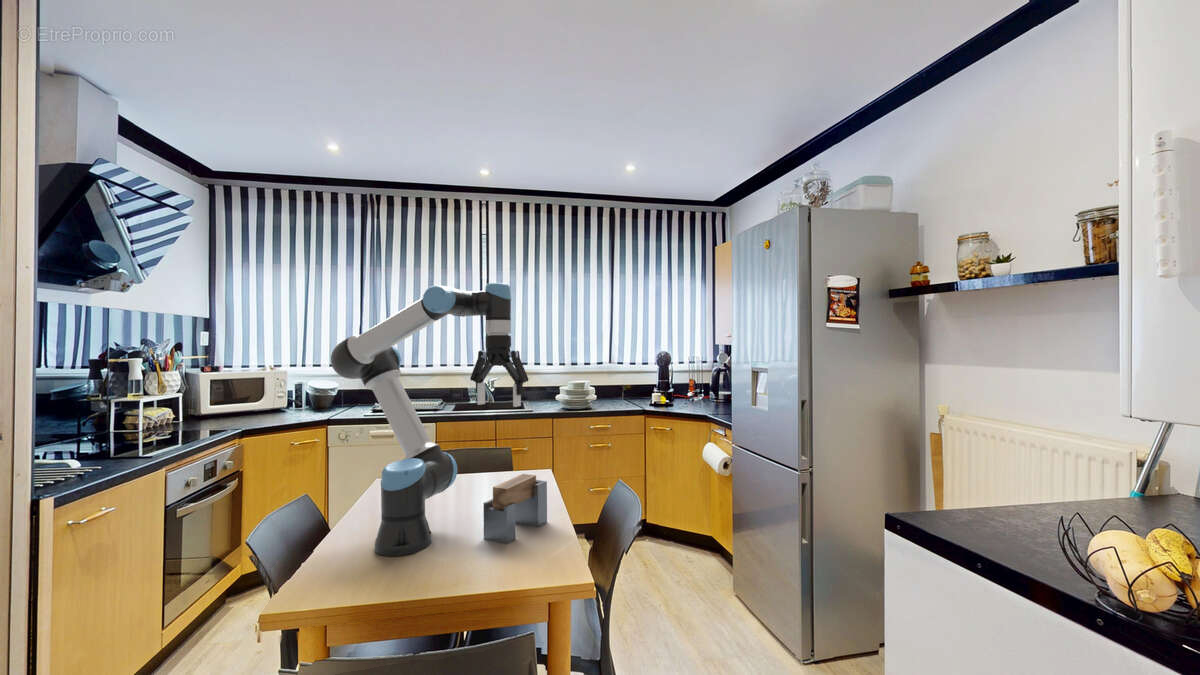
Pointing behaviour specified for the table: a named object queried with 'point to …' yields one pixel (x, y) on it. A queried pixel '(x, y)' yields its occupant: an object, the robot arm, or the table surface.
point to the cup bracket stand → (515, 515)
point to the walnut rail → (514, 490)
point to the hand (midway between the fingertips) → (498, 405)
